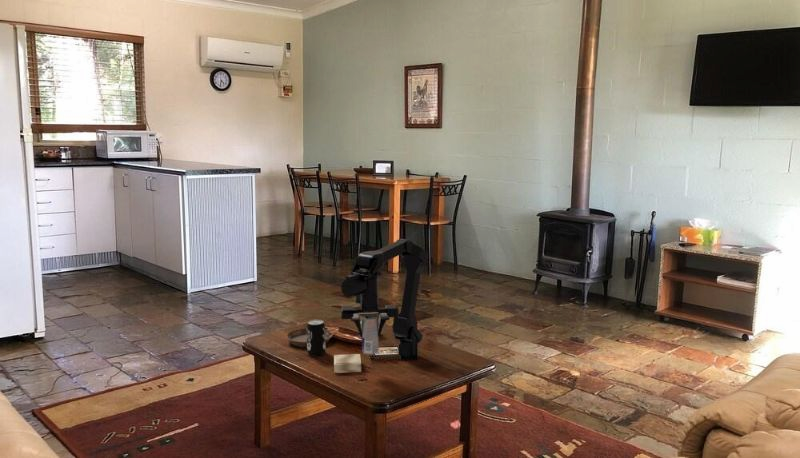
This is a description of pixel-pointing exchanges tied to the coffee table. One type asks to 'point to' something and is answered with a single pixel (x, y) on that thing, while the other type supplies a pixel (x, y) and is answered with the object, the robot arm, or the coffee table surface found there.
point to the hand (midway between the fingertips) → (370, 336)
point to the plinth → (347, 363)
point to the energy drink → (369, 334)
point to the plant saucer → (303, 337)
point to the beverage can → (316, 337)
